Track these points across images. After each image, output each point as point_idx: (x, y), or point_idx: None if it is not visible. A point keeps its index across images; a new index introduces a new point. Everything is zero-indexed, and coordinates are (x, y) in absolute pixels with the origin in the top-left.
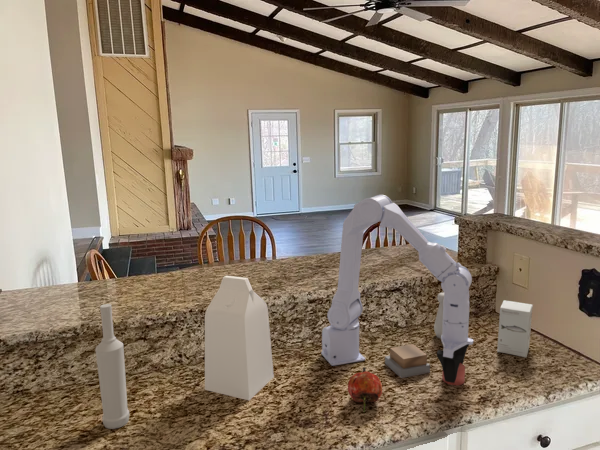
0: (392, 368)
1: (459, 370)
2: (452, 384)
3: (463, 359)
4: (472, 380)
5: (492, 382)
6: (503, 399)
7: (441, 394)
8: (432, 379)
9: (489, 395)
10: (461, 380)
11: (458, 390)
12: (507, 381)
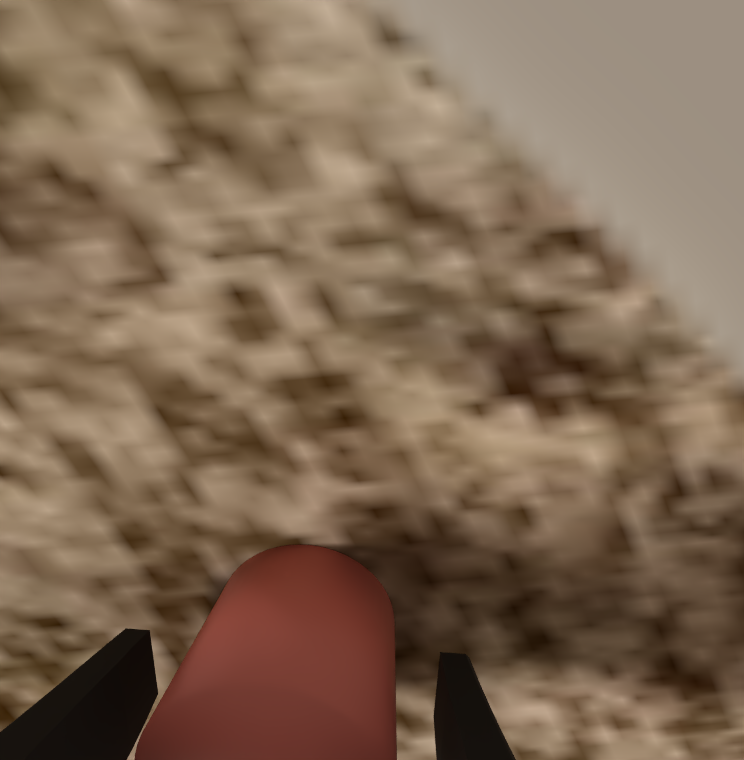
0: None
1: (352, 731)
2: (393, 621)
3: (43, 738)
4: (235, 490)
5: (176, 324)
6: (477, 186)
7: (581, 667)
8: None
9: (450, 326)
10: (352, 592)
11: (466, 570)
12: (68, 181)
